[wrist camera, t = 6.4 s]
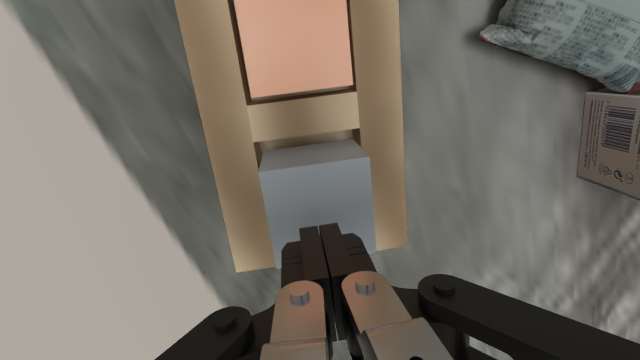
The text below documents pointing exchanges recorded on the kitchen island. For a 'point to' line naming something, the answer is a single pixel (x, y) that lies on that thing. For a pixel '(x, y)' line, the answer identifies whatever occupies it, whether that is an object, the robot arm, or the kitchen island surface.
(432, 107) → the kitchen island surface
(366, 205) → the slate key
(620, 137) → the juice carton
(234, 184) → the light brown rectangular frame
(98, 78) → the kitchen island surface
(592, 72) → the packaged food
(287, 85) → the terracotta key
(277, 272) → the kitchen island surface
